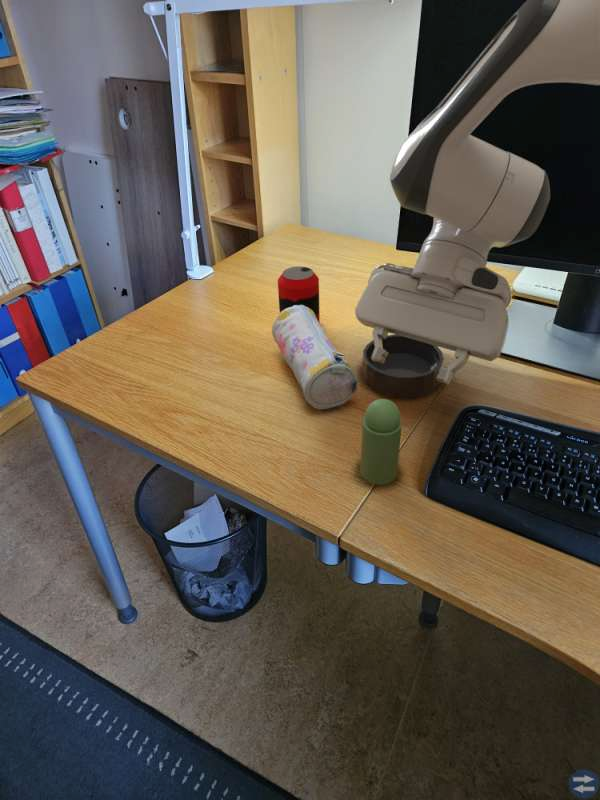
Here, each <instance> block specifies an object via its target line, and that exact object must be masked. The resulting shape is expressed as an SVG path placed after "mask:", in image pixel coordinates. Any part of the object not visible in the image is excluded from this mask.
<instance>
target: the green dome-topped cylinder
mask: <svg viewBox="0 0 600 800" xmlns="http://www.w3.org/2000/svg"><path fill="white" fill-rule="evenodd" d="M402 426H403V422H402V419H401V411H400V409H399V407H398V405H397V404H396V403H395V402H394V401H393V400H390V399H387V398H379V399H375V400H373V401H372V402H371V403H369V405H367V408H366V410H365V413H364V417H363V418H362V427H361V448H360V449H361V450H360V451H361V452H360V454H361V455H360V475H361V477H362V479H364V481H366V482H367V483H369V484H372V485H376V486H384V485H389V484H391V483H392V482H394V481H395V479H396V478H397V476H398V468H399V467H398V466H399V457H400V456H399V455H400V447H401V437H402Z"/></svg>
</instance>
